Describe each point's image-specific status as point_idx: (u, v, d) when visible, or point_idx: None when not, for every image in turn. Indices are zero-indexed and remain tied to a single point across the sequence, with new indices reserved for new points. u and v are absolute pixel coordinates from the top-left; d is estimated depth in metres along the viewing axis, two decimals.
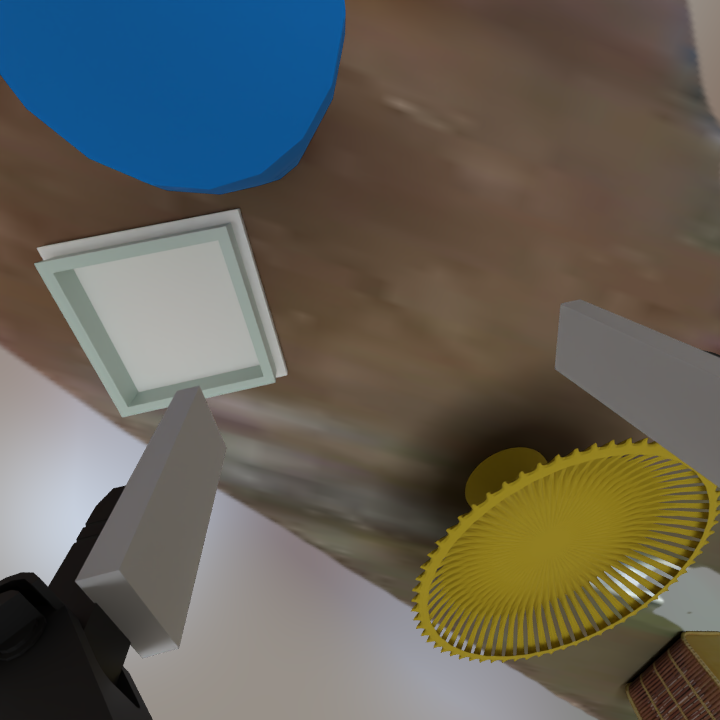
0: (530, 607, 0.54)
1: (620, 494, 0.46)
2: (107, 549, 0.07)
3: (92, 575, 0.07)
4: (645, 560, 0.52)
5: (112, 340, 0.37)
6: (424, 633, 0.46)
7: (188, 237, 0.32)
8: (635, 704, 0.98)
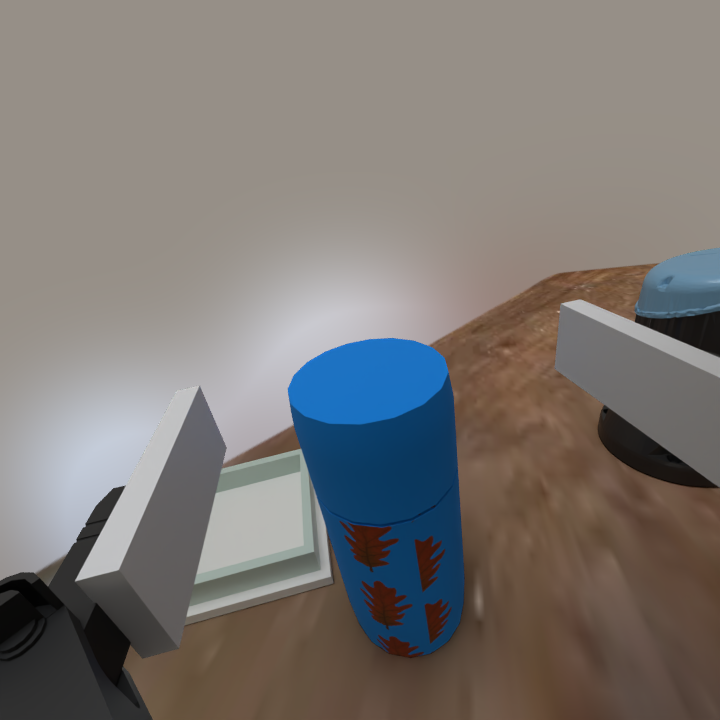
0: None
1: None
2: (107, 549, 0.07)
3: (92, 575, 0.07)
4: None
5: (249, 485, 0.50)
6: None
7: (309, 524, 0.40)
8: None
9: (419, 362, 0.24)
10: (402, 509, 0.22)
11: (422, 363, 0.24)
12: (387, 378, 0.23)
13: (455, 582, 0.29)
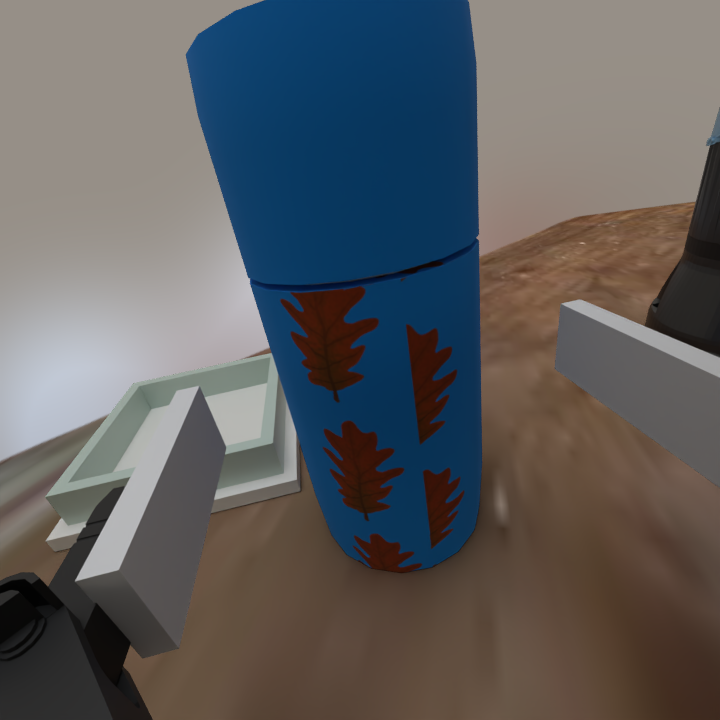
0: None
1: None
2: (107, 549, 0.07)
3: (92, 575, 0.07)
4: None
5: (208, 396, 0.41)
6: None
7: (270, 417, 0.30)
8: None
9: None
10: (383, 244, 0.12)
11: None
12: None
13: (470, 448, 0.19)
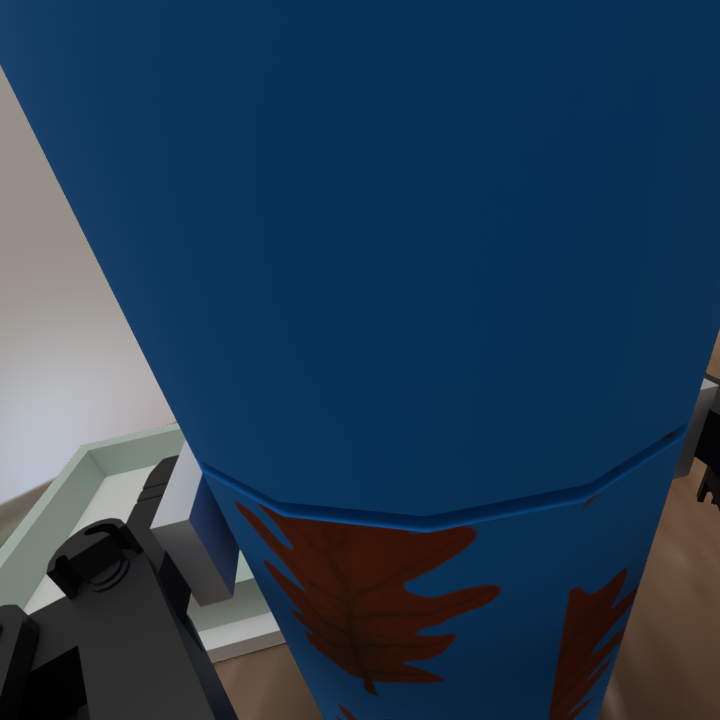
0: None
1: None
2: (174, 503, 0.08)
3: (164, 524, 0.07)
4: None
5: None
6: None
7: None
8: None
9: None
10: (558, 422, 0.04)
11: None
12: None
13: None
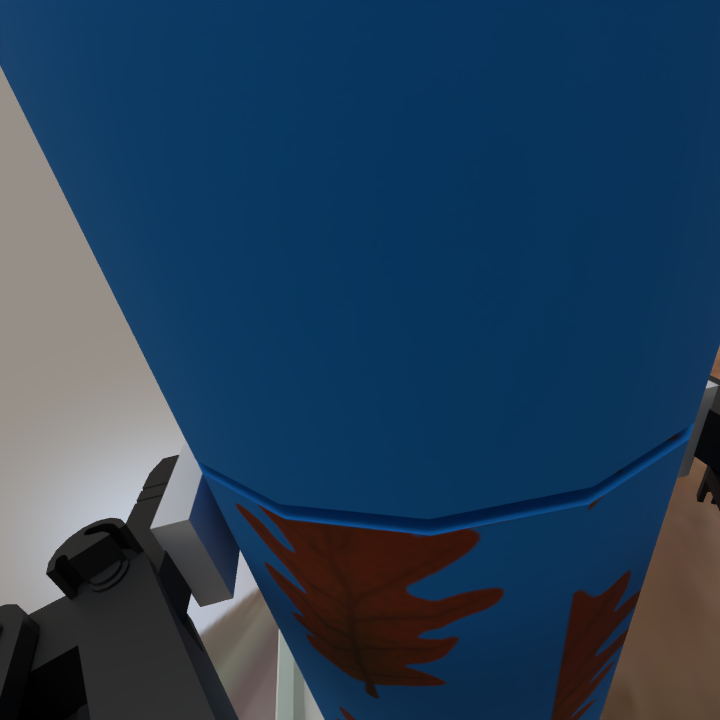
0: None
1: None
2: (174, 503, 0.08)
3: (164, 524, 0.07)
4: None
5: None
6: None
7: None
8: None
9: None
10: (563, 424, 0.04)
11: None
12: None
13: None
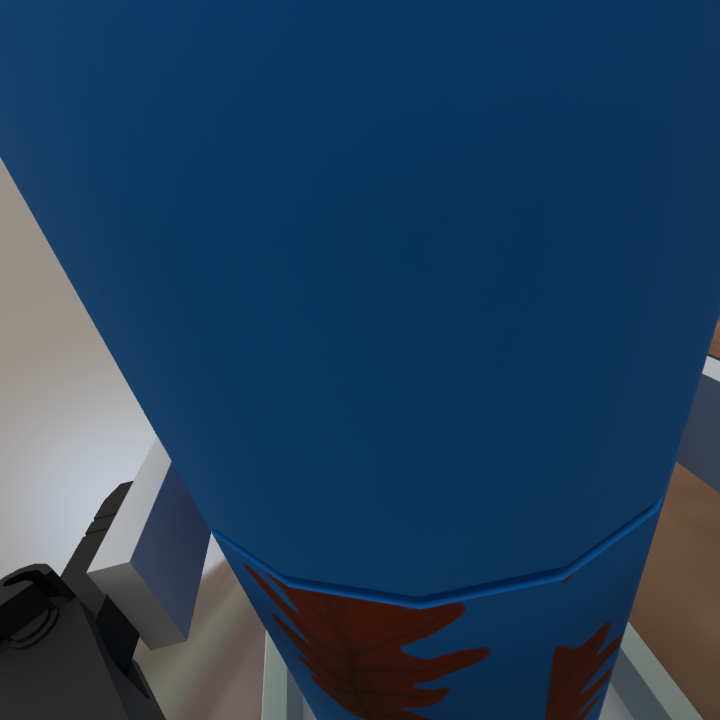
0: None
1: None
2: (117, 541, 0.07)
3: (103, 567, 0.07)
4: None
5: None
6: None
7: None
8: None
9: None
10: (534, 520, 0.04)
11: None
12: None
13: (601, 709, 0.11)
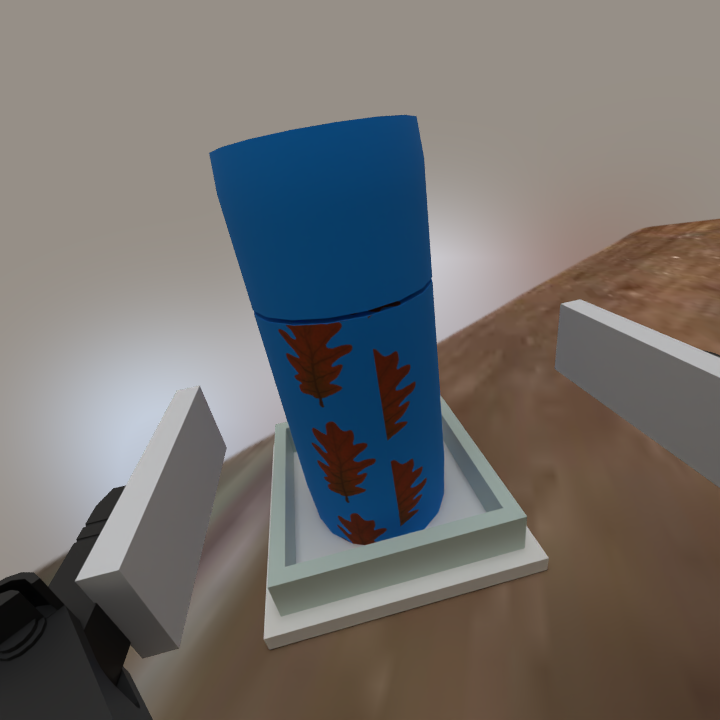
0: None
1: None
2: (107, 549, 0.07)
3: (92, 575, 0.07)
4: None
5: None
6: None
7: (494, 478, 0.25)
8: None
9: None
10: (354, 292, 0.17)
11: None
12: None
13: (430, 444, 0.24)
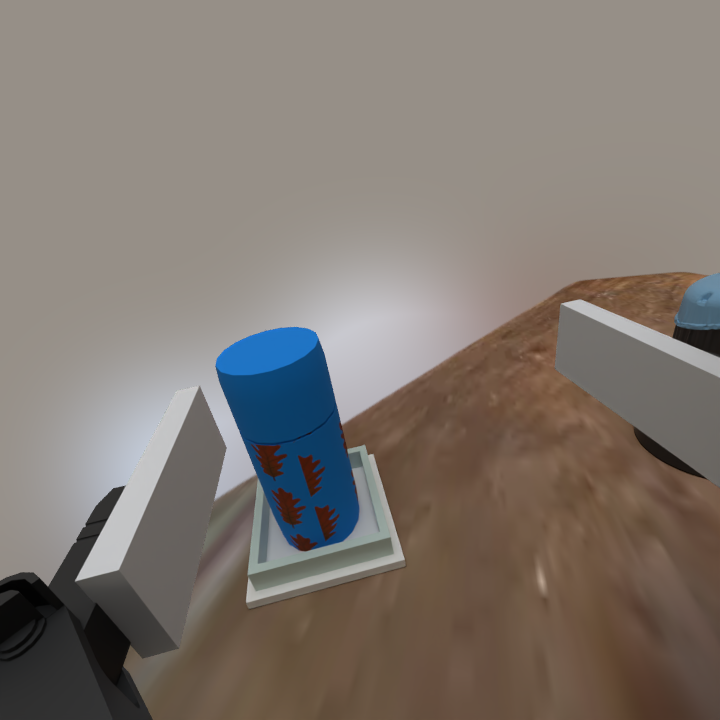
0: None
1: None
2: (107, 549, 0.07)
3: (92, 575, 0.07)
4: None
5: None
6: None
7: (381, 513, 0.44)
8: None
9: (302, 341, 0.37)
10: (285, 432, 0.36)
11: (303, 342, 0.37)
12: (278, 350, 0.36)
13: (340, 495, 0.42)
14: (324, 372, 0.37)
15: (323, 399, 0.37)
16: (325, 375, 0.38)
